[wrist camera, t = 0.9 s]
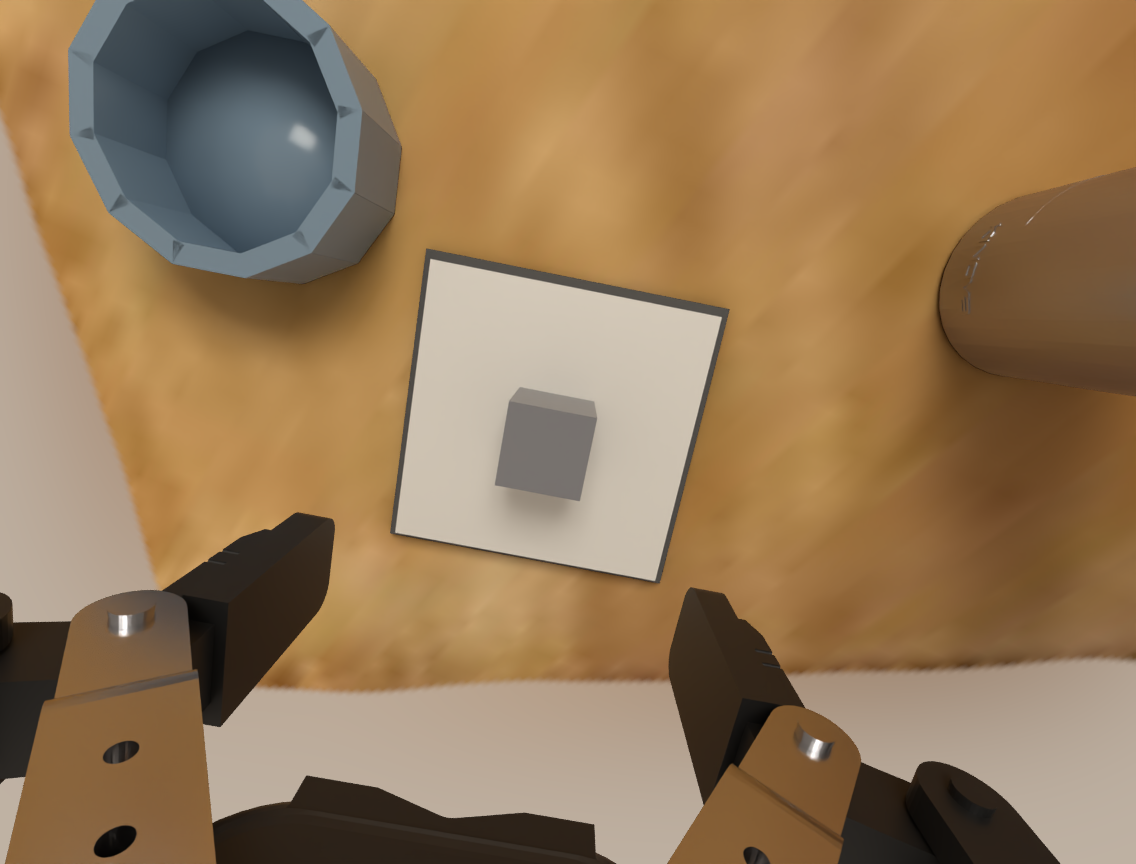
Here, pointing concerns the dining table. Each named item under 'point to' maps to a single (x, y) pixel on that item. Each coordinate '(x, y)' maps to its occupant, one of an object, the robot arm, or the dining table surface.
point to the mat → (580, 285)
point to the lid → (550, 419)
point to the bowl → (233, 134)
